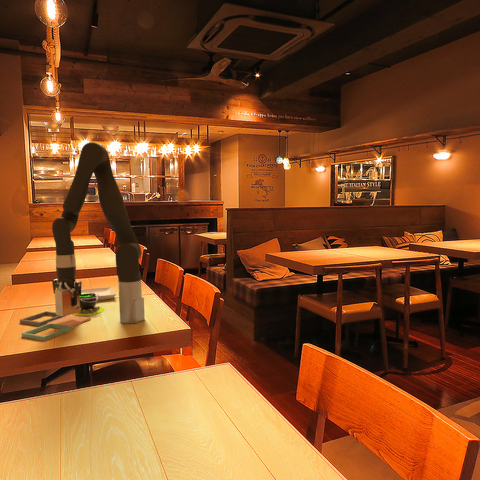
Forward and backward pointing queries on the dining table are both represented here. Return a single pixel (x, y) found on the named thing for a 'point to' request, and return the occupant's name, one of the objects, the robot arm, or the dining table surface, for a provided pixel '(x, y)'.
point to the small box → (65, 303)
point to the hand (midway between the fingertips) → (67, 304)
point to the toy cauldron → (89, 304)
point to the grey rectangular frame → (27, 319)
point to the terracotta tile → (70, 320)
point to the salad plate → (101, 293)
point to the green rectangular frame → (63, 329)
